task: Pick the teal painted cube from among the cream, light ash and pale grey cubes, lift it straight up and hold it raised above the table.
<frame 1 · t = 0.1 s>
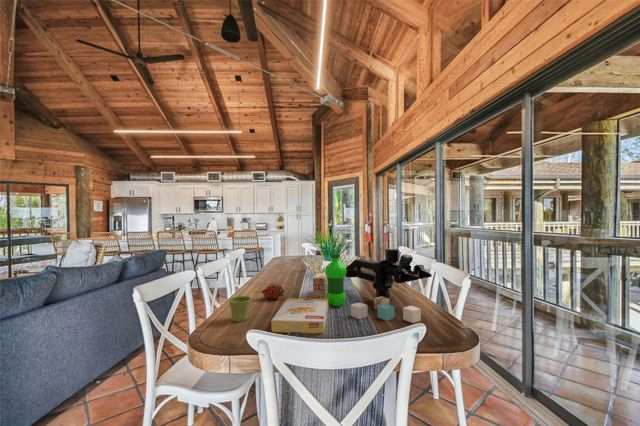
hand: (425, 276, 125), 17 cm above the table, tool horizontal, fingers open, 9 cm apart
pale grey cube: (359, 316, 124), on the table
plant pot: (240, 320, 121), on the table
printed food carton: (322, 296, 156), on the table
teal cube: (385, 317, 122), on the table
dragon fruit: (272, 299, 150), on the table
plastic bottle: (335, 305, 139), on the table
light ash cube: (381, 309, 133), on the table
cream cube: (411, 320, 119), on the table
cereal box: (302, 320, 121), on the table
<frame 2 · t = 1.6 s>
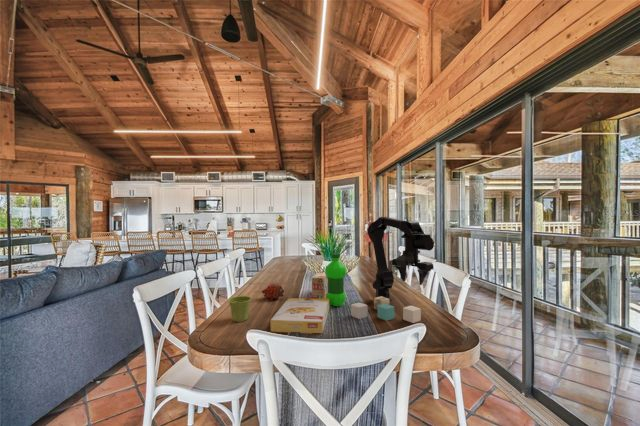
hand: (411, 283, 129), 13 cm above the table, tool pointing down, fingers open, 9 cm apart
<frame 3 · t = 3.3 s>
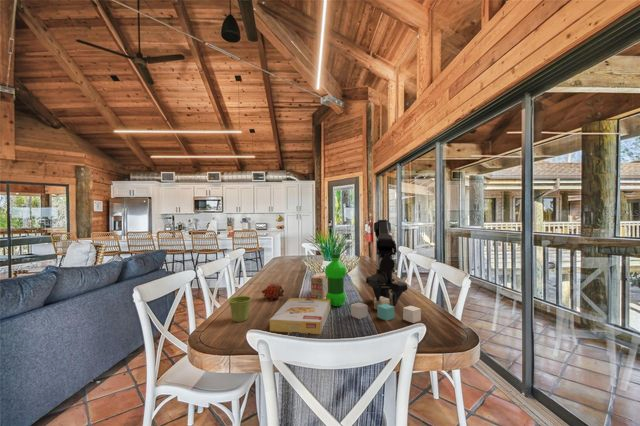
hand: (385, 303, 122), 6 cm above the table, tool pointing down, fingers open, 9 cm apart
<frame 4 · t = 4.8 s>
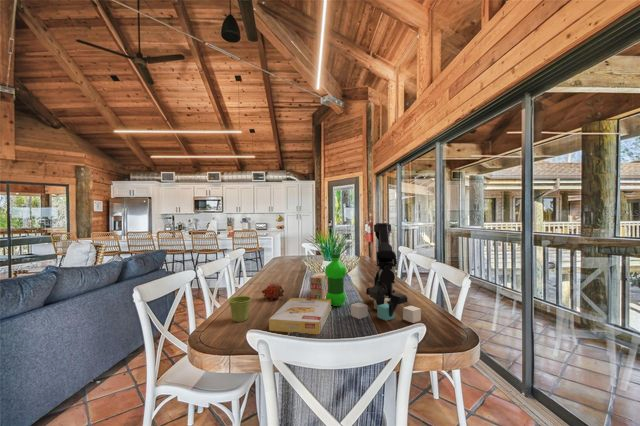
hand: (385, 314, 122), 1 cm above the table, tool pointing down, fingers closed on teal cube, 5 cm apart
teal cube: (385, 317, 122), on the table, touching gripper
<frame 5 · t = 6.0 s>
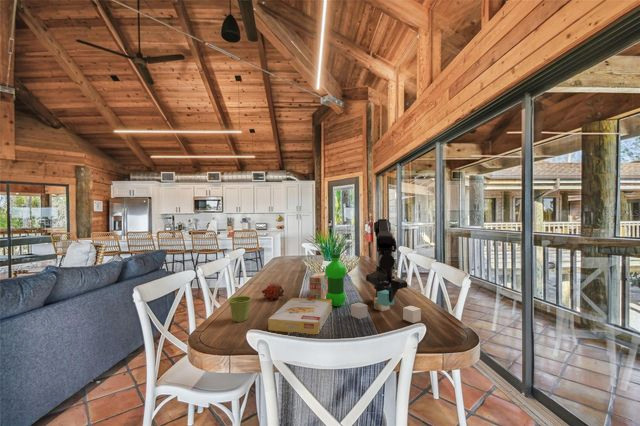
hand: (385, 300, 122), 7 cm above the table, tool pointing down, fingers closed on teal cube, 5 cm apart
teal cube: (385, 303, 122), point 6 cm above the table, touching gripper
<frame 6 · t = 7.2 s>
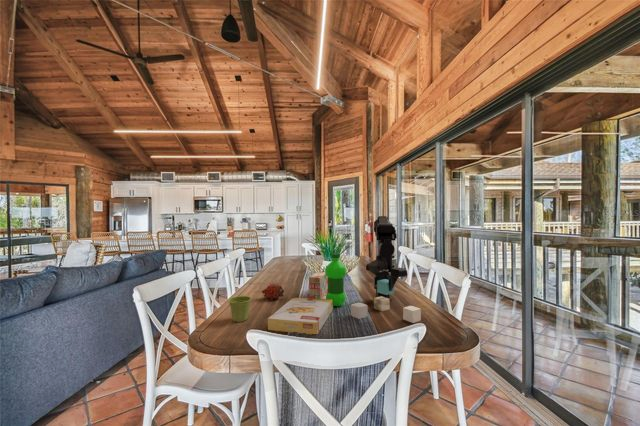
hand: (385, 289, 122), 12 cm above the table, tool pointing down, fingers closed on teal cube, 5 cm apart
teal cube: (385, 292, 122), point 11 cm above the table, touching gripper
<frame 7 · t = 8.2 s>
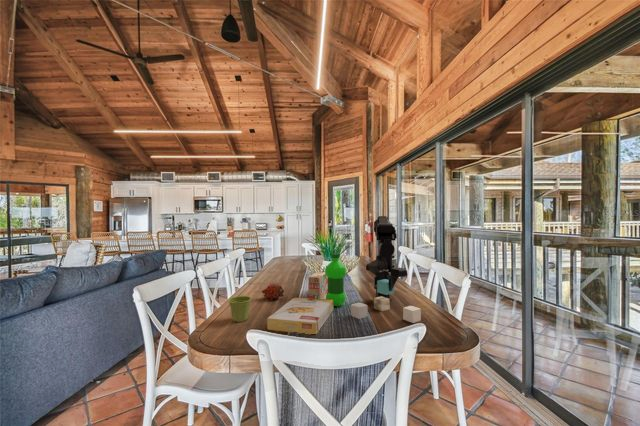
hand: (385, 289, 122), 12 cm above the table, tool pointing down, fingers closed on teal cube, 5 cm apart
teal cube: (385, 292, 122), point 11 cm above the table, touching gripper
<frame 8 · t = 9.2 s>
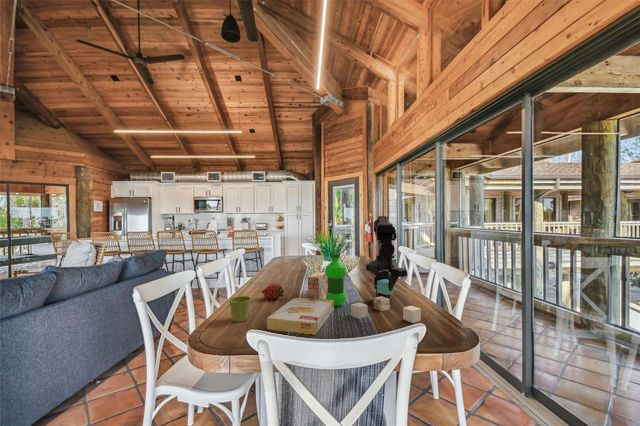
hand: (385, 289, 122), 12 cm above the table, tool pointing down, fingers closed on teal cube, 5 cm apart
teal cube: (385, 292, 122), point 11 cm above the table, touching gripper
at the end: the gripper is holding teal cube; teal cube point 10.7 cm above the table; cream cube moved 0.1 cm from its start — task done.
